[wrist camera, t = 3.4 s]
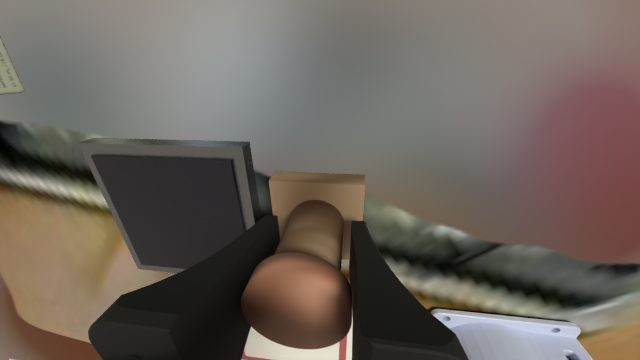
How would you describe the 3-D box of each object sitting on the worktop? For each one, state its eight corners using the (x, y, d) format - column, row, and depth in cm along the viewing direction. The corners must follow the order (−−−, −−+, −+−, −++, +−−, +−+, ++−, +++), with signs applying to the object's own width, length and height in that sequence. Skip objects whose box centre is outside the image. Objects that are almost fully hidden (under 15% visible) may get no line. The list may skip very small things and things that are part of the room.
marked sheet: (362, 288, 18) (362, 292, 17) (354, 376, 23) (354, 380, 23) (209, 274, 19) (206, 277, 19) (235, 359, 24) (233, 363, 24)
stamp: (364, 172, 13) (372, 270, 7) (359, 243, 16) (362, 364, 9) (277, 169, 14) (214, 256, 8) (283, 237, 16) (239, 348, 10)
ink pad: (249, 141, 14) (240, 148, 13) (268, 270, 18) (263, 283, 17) (94, 137, 15) (74, 143, 14) (148, 259, 19) (136, 270, 18)
